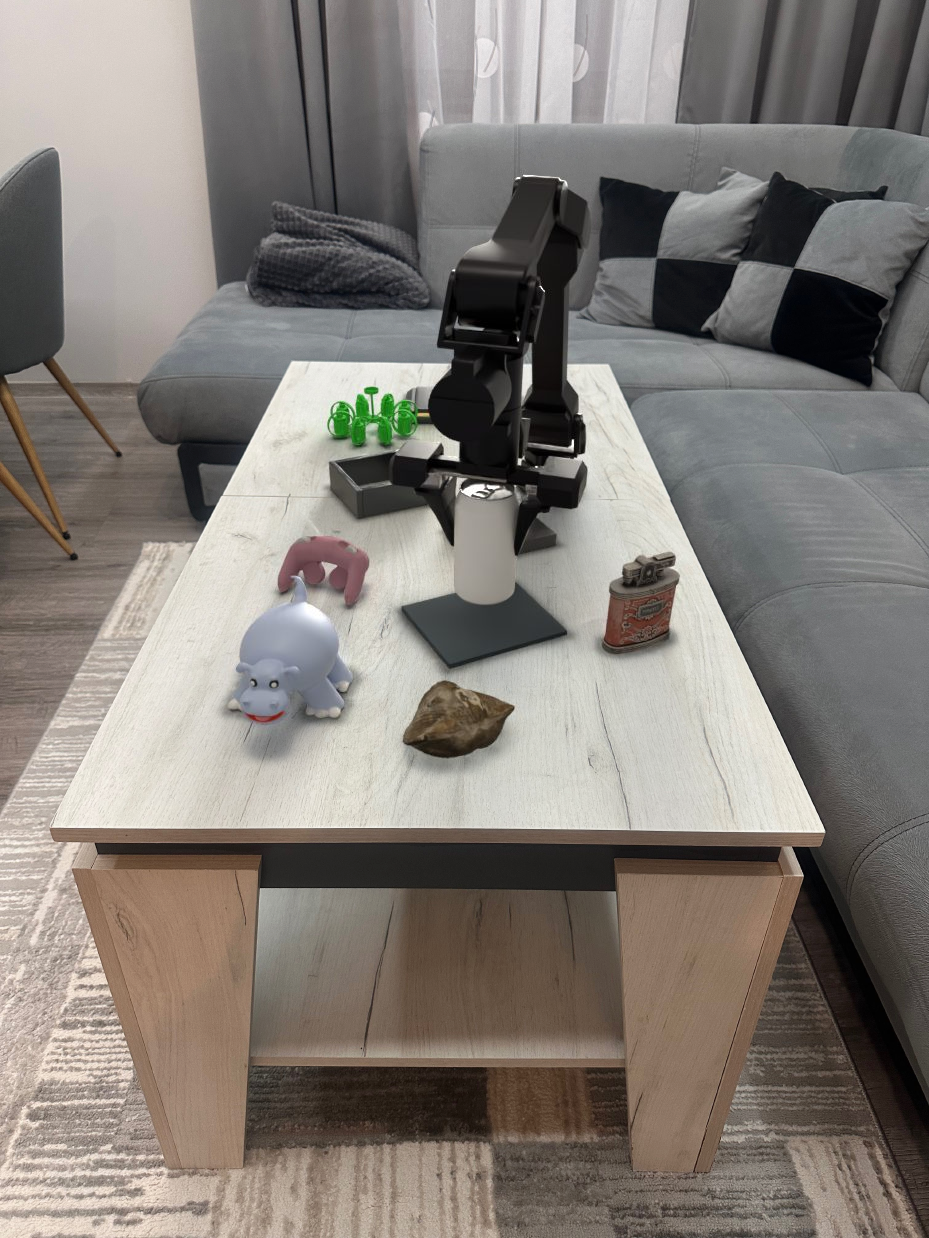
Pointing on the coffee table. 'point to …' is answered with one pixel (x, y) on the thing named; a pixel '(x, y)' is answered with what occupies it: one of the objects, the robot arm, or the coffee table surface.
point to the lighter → (641, 604)
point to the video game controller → (330, 550)
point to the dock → (373, 497)
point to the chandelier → (372, 418)
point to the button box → (538, 537)
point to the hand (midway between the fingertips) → (485, 549)
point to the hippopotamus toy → (290, 663)
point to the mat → (481, 626)
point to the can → (485, 541)
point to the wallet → (420, 403)
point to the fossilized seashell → (455, 721)
